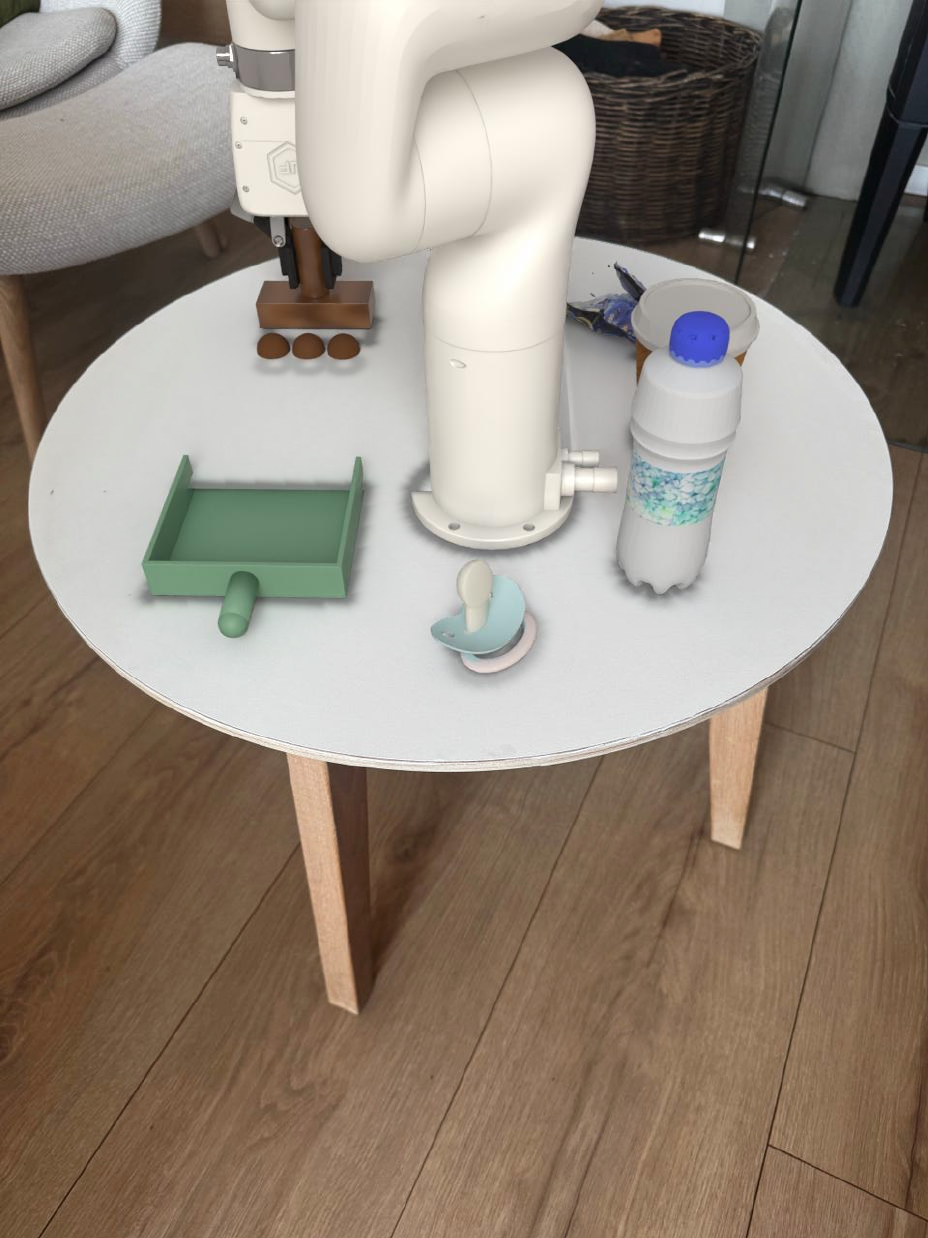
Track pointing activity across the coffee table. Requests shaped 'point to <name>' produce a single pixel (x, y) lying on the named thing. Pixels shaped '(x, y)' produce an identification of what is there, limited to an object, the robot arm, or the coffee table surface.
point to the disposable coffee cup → (686, 296)
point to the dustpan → (253, 544)
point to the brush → (314, 293)
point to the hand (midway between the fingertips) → (313, 280)
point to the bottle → (678, 452)
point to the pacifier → (486, 619)
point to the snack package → (611, 308)
